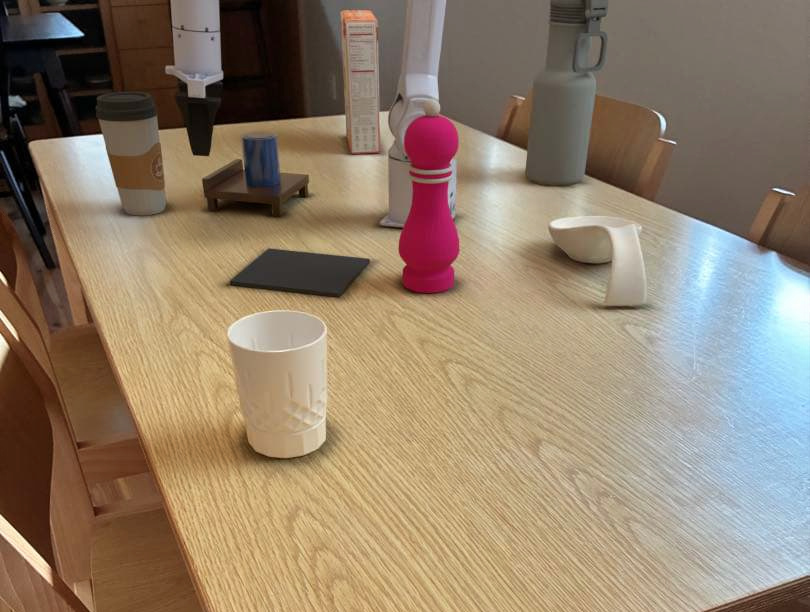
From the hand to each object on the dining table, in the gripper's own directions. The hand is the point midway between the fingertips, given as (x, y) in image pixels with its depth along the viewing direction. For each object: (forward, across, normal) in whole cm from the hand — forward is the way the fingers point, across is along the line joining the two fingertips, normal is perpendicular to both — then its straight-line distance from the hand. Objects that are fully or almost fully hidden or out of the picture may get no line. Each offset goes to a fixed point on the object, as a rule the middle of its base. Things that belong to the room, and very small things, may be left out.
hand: (202, 148), depth 108 cm
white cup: (+10, +59, +9) cm, 60 cm away
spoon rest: (+6, +24, +50) cm, 55 cm away
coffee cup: (+12, -10, -9) cm, 18 cm away
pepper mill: (+8, +25, +27) cm, 38 cm away
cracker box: (+8, -45, +27) cm, 53 cm away
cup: (+7, -11, +8) cm, 15 cm away
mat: (+9, +20, +12) cm, 25 cm away
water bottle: (+5, -18, +56) cm, 59 cm away
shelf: (+10, -11, +8) cm, 17 cm away
